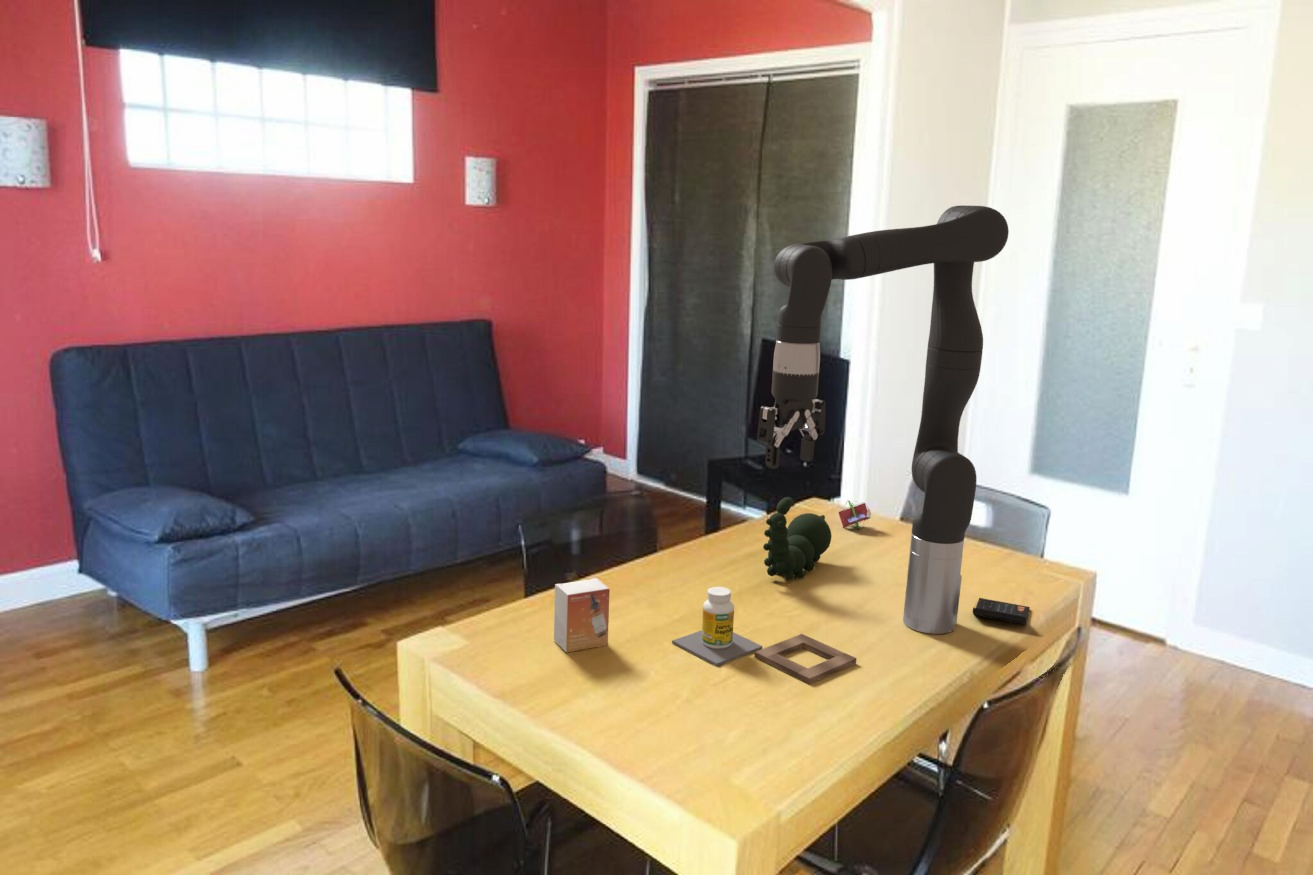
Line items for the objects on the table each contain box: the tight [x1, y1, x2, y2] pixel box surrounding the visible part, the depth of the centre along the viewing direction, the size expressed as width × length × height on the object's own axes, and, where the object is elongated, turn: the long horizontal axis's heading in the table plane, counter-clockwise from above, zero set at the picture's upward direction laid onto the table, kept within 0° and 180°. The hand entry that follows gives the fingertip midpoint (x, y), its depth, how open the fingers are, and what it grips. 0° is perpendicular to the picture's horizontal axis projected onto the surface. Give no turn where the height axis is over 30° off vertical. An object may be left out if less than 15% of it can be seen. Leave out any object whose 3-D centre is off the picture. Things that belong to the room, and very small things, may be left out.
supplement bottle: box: [701, 586, 735, 649], centre depth 170 cm, size 5×5×10 cm
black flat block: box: [972, 597, 1031, 625], centre depth 188 cm, size 9×12×3 cm
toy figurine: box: [762, 496, 832, 581], centre depth 206 cm, size 9×19×25 cm
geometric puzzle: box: [837, 500, 872, 531], centre depth 236 cm, size 7×7×8 cm
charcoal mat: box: [671, 629, 763, 667], centre depth 171 cm, size 11×11×1 cm
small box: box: [553, 577, 611, 653], centre depth 169 cm, size 8×6×10 cm
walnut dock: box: [754, 633, 857, 685], centre depth 167 cm, size 12×12×1 cm
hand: (789, 464), depth 166 cm, fingers open, 8 cm apart
